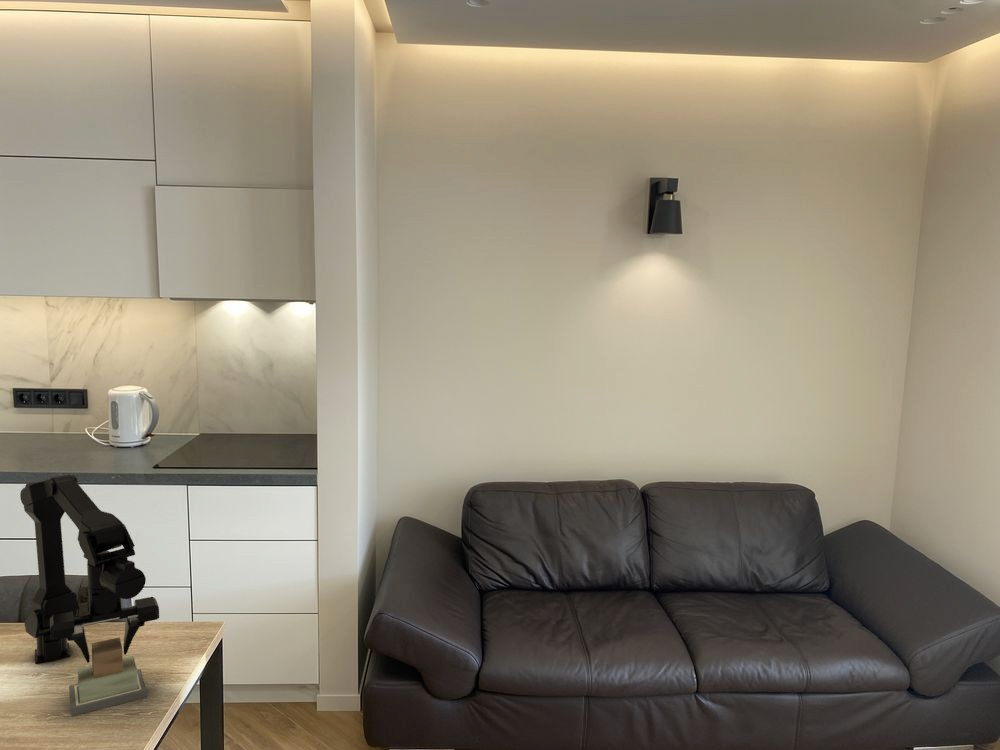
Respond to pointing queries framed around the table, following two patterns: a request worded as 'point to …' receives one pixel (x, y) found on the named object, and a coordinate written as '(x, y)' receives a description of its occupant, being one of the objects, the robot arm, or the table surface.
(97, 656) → the walnut cube
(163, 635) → the table surface
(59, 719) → the table surface
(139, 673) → the plinth
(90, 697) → the sage block
